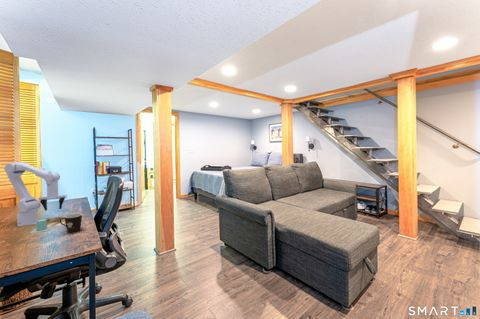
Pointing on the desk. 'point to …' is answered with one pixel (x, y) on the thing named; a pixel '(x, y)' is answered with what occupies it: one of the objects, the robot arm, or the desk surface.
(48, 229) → the pad
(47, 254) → the desk surface
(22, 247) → the desk surface
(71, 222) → the coffee mug
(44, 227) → the block
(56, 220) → the tan shallow tray
